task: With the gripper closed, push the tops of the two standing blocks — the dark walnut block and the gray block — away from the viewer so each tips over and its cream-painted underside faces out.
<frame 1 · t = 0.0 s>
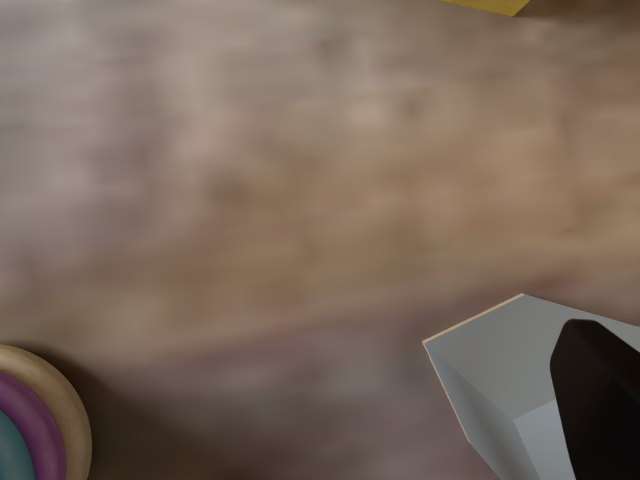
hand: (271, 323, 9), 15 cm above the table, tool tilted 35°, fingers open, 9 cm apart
gray block: (494, 367, 25), on the table
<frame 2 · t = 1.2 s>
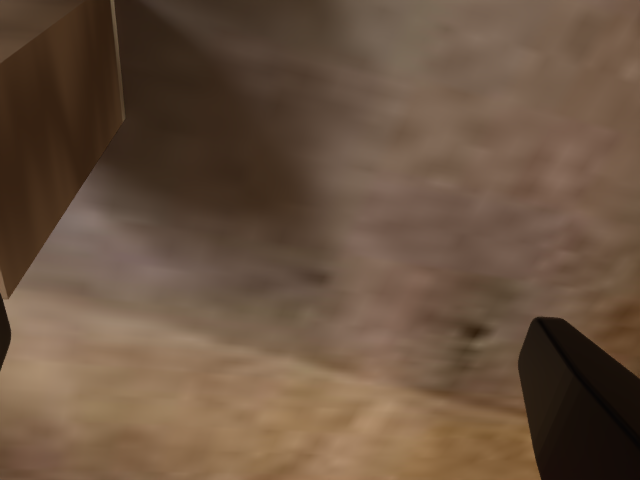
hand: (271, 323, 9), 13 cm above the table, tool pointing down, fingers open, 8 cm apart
walnut block: (49, 48, 20), on the table
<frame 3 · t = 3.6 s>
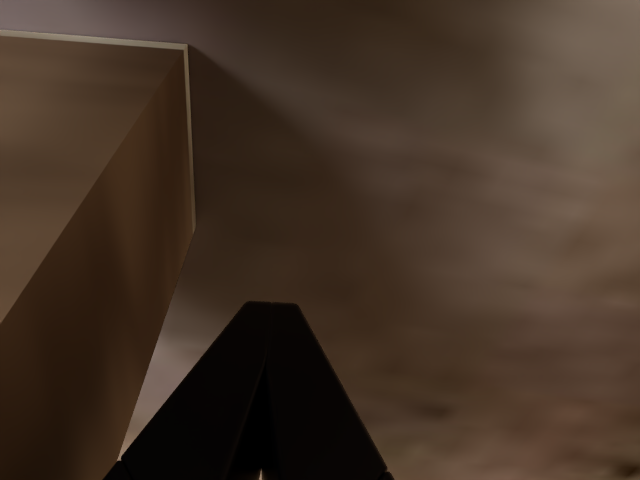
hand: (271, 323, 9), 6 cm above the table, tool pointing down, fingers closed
walnut block: (92, 135, 14), on the table, touching gripper
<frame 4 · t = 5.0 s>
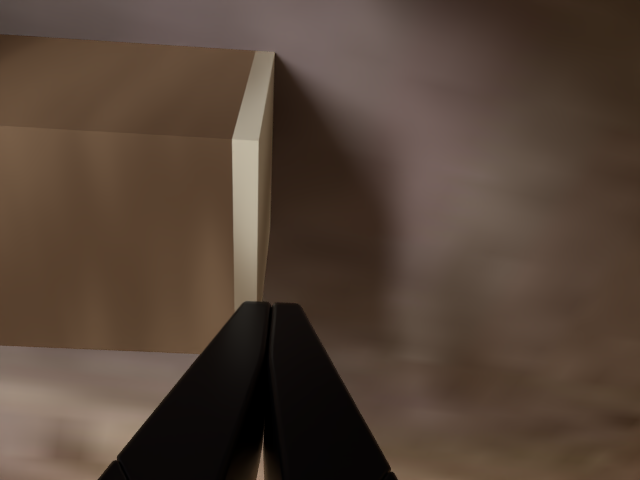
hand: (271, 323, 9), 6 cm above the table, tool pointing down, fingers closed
walnut block: (265, 196, 12), point 2 cm above the table, tilted 90°
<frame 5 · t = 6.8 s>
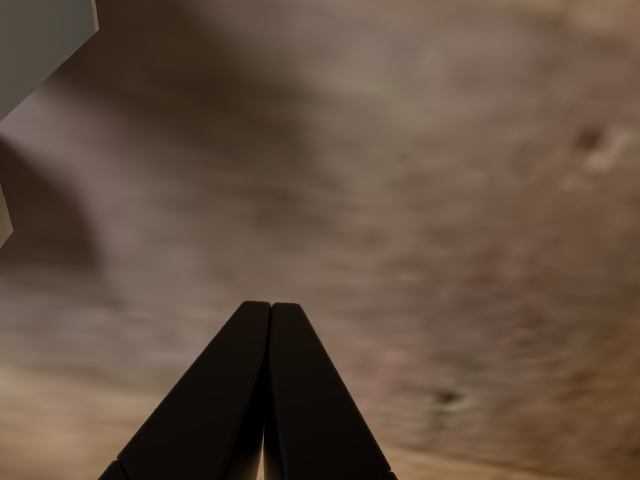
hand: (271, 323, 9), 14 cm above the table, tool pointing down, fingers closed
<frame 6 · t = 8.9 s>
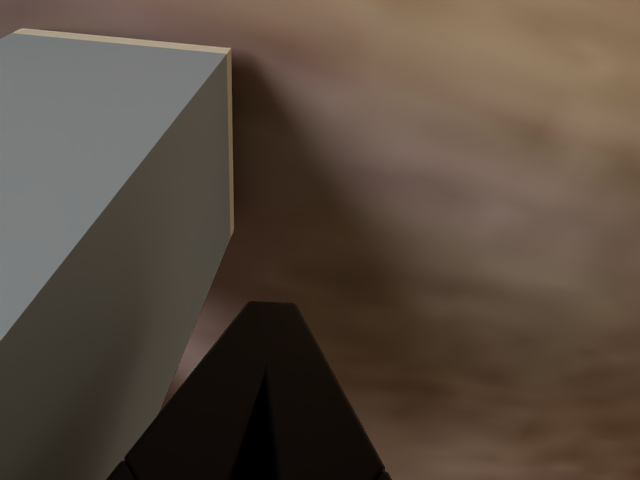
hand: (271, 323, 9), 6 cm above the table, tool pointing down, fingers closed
gray block: (136, 137, 14), on the table, tilted 7°, touching gripper
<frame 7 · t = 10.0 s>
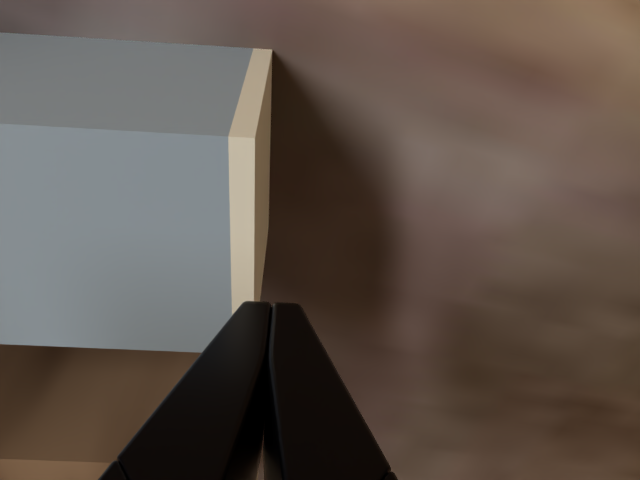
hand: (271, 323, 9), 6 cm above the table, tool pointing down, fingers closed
gray block: (263, 194, 12), point 2 cm above the table, tilted 90°
walnut block: (256, 447, 17), point 2 cm above the table, tilted 90°
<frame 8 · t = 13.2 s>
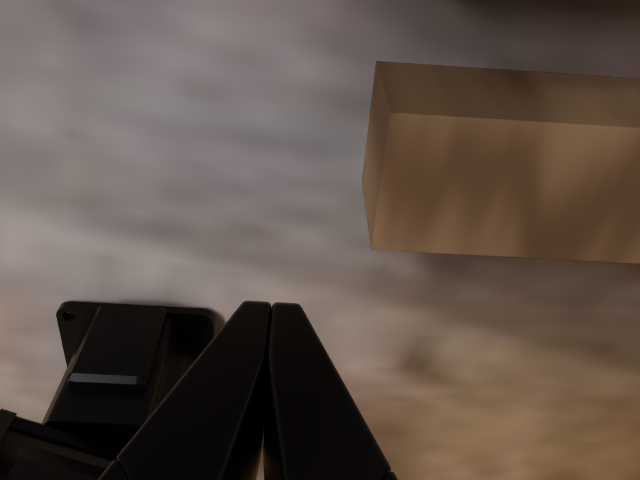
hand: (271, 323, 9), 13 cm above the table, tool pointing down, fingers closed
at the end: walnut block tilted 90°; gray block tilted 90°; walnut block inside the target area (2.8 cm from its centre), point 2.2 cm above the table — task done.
